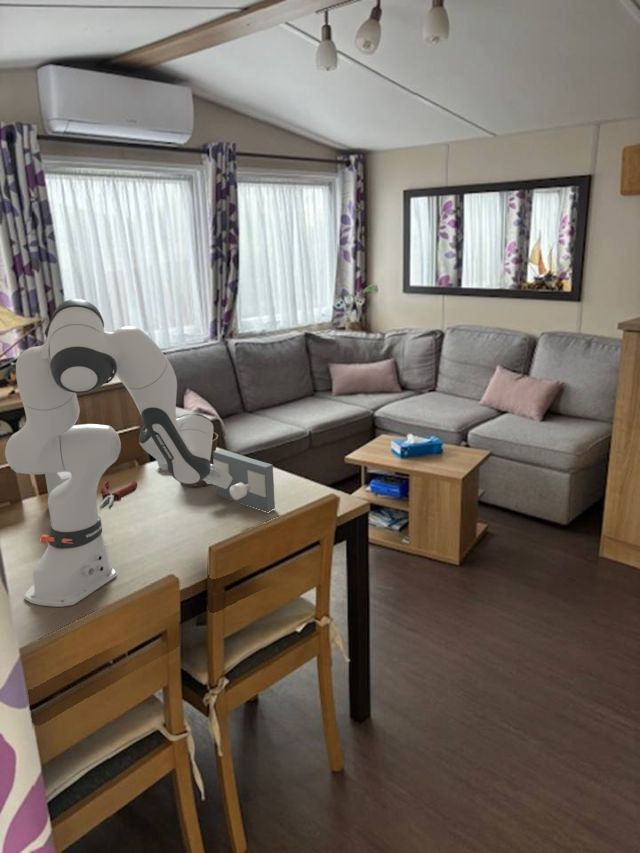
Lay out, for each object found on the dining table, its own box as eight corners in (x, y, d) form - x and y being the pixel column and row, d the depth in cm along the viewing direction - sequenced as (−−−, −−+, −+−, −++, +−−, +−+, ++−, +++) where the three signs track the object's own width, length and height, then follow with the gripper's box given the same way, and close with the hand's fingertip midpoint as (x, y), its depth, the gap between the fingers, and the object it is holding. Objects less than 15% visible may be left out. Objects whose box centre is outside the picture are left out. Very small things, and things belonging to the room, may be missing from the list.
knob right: (240, 501, 186) (239, 487, 185) (230, 497, 189) (229, 484, 187) (253, 495, 190) (252, 481, 189) (243, 492, 193) (242, 478, 191)
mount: (266, 514, 193) (264, 468, 189) (215, 495, 208) (211, 452, 204) (274, 510, 196) (272, 464, 191) (223, 491, 211) (220, 449, 206)
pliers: (86, 511, 199) (85, 503, 199) (105, 487, 219) (104, 480, 218) (123, 510, 200) (122, 502, 199) (138, 486, 219) (137, 479, 218)
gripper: (217, 458, 163) (248, 482, 173) (171, 442, 177) (202, 466, 186) (204, 479, 162) (237, 502, 171) (159, 462, 175) (191, 484, 185)
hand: (218, 483), depth 179 cm, fingers closed
